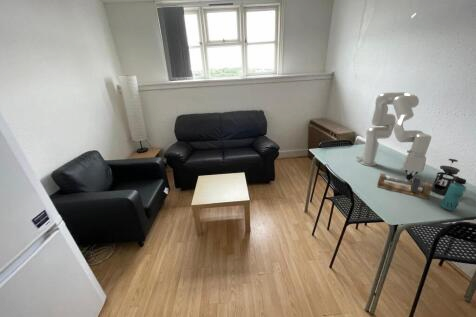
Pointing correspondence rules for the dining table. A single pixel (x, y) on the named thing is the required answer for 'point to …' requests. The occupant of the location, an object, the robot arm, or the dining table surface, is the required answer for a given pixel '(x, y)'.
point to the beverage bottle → (454, 194)
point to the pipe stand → (404, 189)
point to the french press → (444, 184)
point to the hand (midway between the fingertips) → (408, 179)
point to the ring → (415, 184)
